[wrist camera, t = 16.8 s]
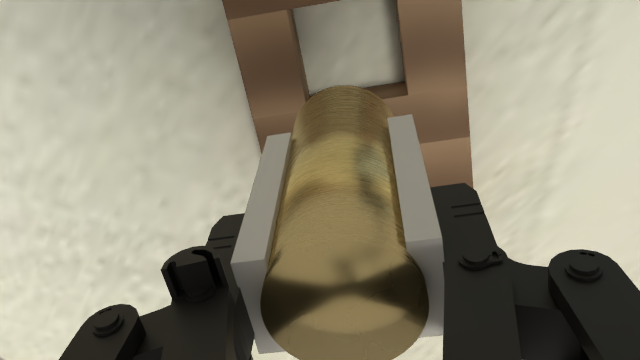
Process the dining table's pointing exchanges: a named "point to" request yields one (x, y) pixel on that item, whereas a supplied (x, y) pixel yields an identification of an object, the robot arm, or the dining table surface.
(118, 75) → the dining table surface
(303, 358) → the peg
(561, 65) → the dining table surface
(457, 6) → the board
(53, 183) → the dining table surface
